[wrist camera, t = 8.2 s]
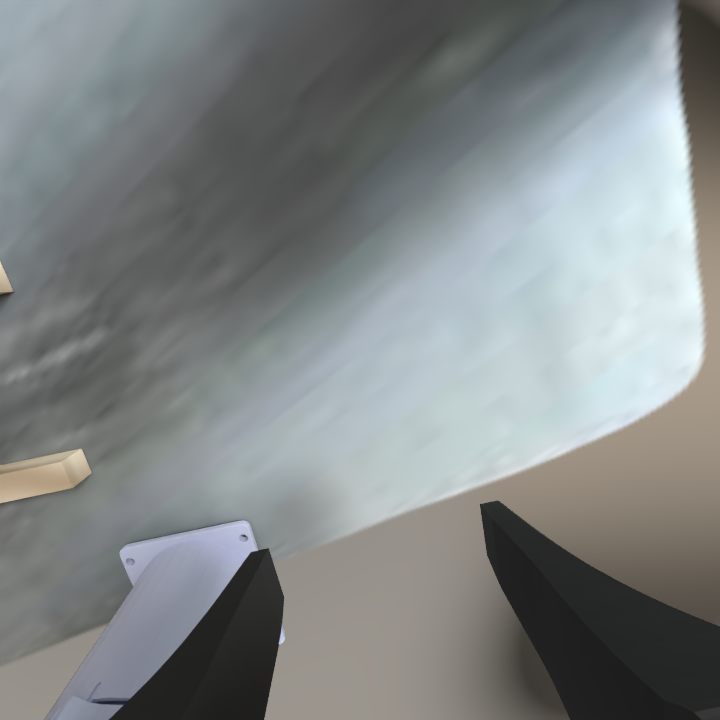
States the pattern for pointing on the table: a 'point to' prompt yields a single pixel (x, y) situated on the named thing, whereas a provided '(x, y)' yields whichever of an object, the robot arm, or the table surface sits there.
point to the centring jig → (40, 462)
